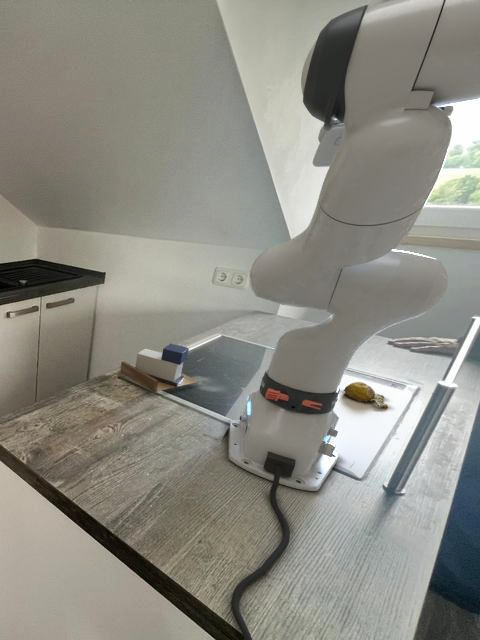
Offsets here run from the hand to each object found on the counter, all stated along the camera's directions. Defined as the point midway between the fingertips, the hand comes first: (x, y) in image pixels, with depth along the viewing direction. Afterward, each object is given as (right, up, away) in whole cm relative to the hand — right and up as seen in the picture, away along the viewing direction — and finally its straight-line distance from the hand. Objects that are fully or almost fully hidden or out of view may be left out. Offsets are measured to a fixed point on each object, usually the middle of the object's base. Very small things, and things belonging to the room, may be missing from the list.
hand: (362, 189), depth 83 cm
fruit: (+14, -47, +14) cm, 51 cm away
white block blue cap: (-35, -41, +22) cm, 58 cm away
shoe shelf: (-34, -42, +23) cm, 59 cm away
